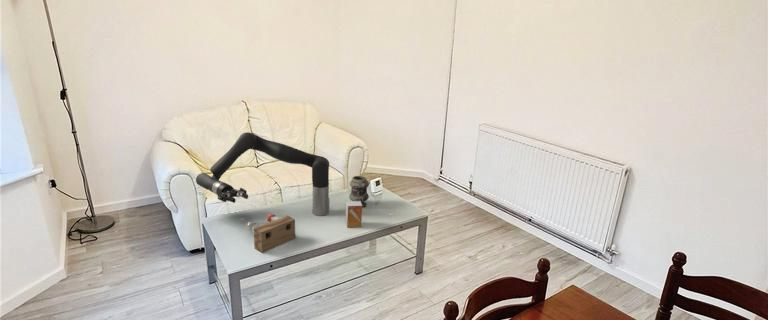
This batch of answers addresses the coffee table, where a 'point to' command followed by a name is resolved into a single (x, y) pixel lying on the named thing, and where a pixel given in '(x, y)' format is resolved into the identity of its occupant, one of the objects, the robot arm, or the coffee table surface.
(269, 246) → the walnut housing
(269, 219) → the red plunger
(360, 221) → the small box
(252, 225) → the grey plunger
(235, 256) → the coffee table surface
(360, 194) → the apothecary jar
